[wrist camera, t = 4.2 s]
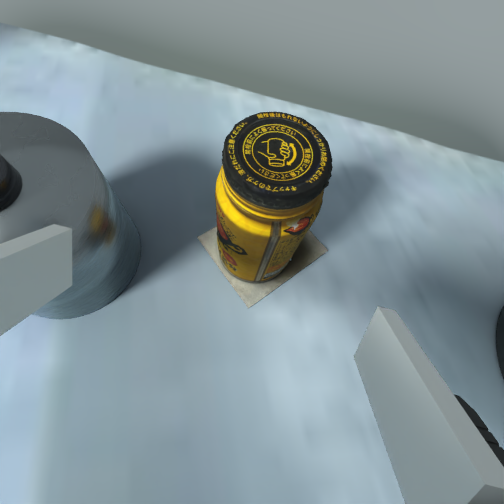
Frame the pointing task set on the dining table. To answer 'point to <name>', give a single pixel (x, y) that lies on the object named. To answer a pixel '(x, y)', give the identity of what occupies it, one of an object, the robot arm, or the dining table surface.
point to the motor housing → (65, 210)
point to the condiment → (268, 202)
